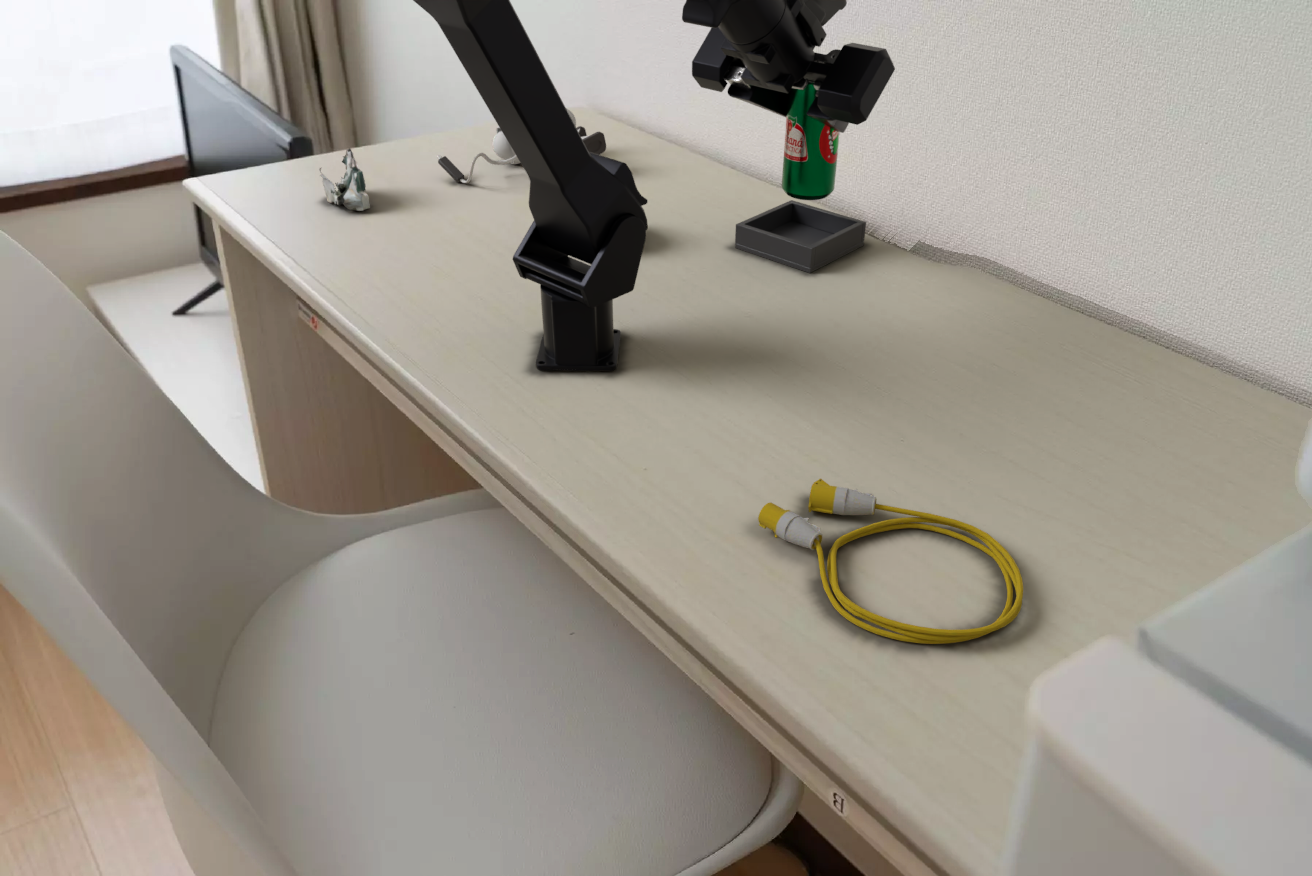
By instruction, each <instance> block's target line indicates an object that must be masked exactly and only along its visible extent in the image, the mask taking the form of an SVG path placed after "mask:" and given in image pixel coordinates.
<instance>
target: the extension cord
mask: <svg viewBox="0 0 1312 876" xmlns="http://www.w3.org/2000/svg"><path fill="white" fill-rule="evenodd" d="M807 509H808V513H811V512H812V511H813V512H819V513H824V514H830V515H833V514H834V515H841V516H866V515H867V516H868V515H871V516H874V515H875V513H876V510H878V511H879V510H880V511H884V512H890V513H894V514H895V513H896V514H901V515H906V516H908V517H898V518H890V519H885V520H882V521H876V522H874V523H871V524H868V525H865V526H862V527H859V528H857V529H854V530H852V531H849V532H847V533H845V534H843V535H841V536H839V537H838V538H837V539H836V540H835V541H834V542H833V544H832V546H831V547H830V549H829V551H828V555H827V562H826V563H827V565H826V564H825V558H824V550H823V548H822V545H821V544H822V542H823V539H824V538H823V534H822V532H821V527H820V526H818V525H816V524H813V523H810V522H809V519H810V518H809V517H802V516H801V515H799V514H798V513H795V512H794V511H791V510H790V509H784V508H783V507H781V506H778V505H777V504H775V503H774V502H767V503H766V504H765V505H763V507H762V508H761V509H760V511H759V513H758V517H757V519H758V520H757V521H758V523H759V524H758V526H759V527H761V528H763V529H764V530H766V529H769V530H771V531H772V532H773V534H774V535H773V537H775V538H776V539H778V537H779V538H780V539H782V540H784V541H786V542H787V543H788V542H789V543H791V544H793V545H796V546H799V547H803V548H807V549H810V550H811V551H815V550H816V554H817V560H818V568H819V576H820V579H821V583H822V587H823V589H824V592H825V594H826V596H827V597H828V600H829V602H830V604H831V605H832V606H833V608H834V609H835V610H836V611H837V612H838V613H839V615H841V616H842V617H843V618H845V619H846V620H847V621H849V622H850V623H852V624H854V625H856V626H857V627H859V628H861V629H863V630H866V631H868V632H870V633H873V634H876V635H877V636H881V637H886V638H888V639H892V640H896V641H901V642H907V643H915V644H916V643H917V644H924V645H925V644H927V645H940V644H954V643H961V642H967V641H970V640H975V639H978V638H981V637H983V636H985V635H988V634H990V633H993V632H995V631H998V630H1000V629H1002V628H1005V627H1006V626H1008V625H1009V624H1011V623H1012V622H1014V620H1015V619H1016V618H1017V617H1018V616H1019V613H1020V611H1021V610H1022V606H1023V599H1024V583H1023V577H1022V575H1021V571H1020V569H1019V566H1018V565H1017V563H1016V561H1015V559H1014V558H1013V557H1012V555H1011V554H1010V553H1009V551H1008V550H1007V549H1006V548H1005V547H1004V546H1003V545H1002V544H1001V543H1000V542H998V540H996V539H995V538H994V537H993V536H992V535H990V534H989V533H987V532H985V531H984V530H982V529H980V528H978V527H977V526H974V525H972V524H969V523H966V522H964V521H960V520H957V519H955V518H950V517H947V516H942V515H937V514H934V513H931V512H930V513H929V512H924V511H918V510H913V509H907V508H901V507H896V506H890V505H884V504H879V503H877V496H875V495H874V494H873V493H871V492H860V491H859V490H858V488H856V489H851V488H849V487H843V486H835V485H830V484H829V483H827V482H826V481H825V480H824V479H822V478H818V480H816V481H814V482H813V483H812V485H811V488H810V491H809V498H808V508H807ZM932 524H937V525H943V526H946V527H947V526H948V527H951V528H955V529H957V530H961V531H962V532H963V531H964V532H965V533H968V534H970V535H972V536H974V537H976V538H977V539H979V540H980V541H982V542H983V543H984V544H985V545H984V544H982V543H981V542H979V541H977V540H974V539H973V538H970V537H968V536H967V535H964V534H961V533H959V532H956V531H953V530H950V529H947V528H944V527H940V526H936V525H932ZM901 529H920V530H925V531H932V532H936V533H939V534H942V535H947V536H949V537H952V538H955V539H957V540H960V541H963V542H965V543H967V544H968V545H970V546H972V547H975V548H976V549H978V550H980V551H982V552H984V553H985V554H987V555H988V556H989V557H991V558H992V559H993V560H994V561H995V563H996V564H997V566H998V567H999V569H1000V570H1001V572H1002V575H1003V579H1004V581H1005V584H1006V585H1005V586H1006V595H1007V596H1006V602H1005V605H1004V608H1003V610H1002V612H1001V614H1000V615H999V617H998V618H997V619H996V620H995V621H994V622H993V623H991V624H989V625H985V626H981V627H973V628H966V629H944V628H933V627H927V626H920V625H914V624H909V623H905V622H901V621H897V620H894V619H890V618H887V617H885V616H883V615H879V614H877V613H874V612H872V611H869V610H868V609H865V608H863V607H862V606H860V605H858V604H857V603H855V602H853V601H852V600H851V599H849V597H847V596H846V595H845V594H844V593H843V592H842V590H841V589H840V588H841V587H840V586H839V579H838V578H839V577H838V568H837V553H838V550H839V548H841V547H843V546H844V545H846V544H848V543H849V542H852V541H854V540H857V539H859V538H862V537H863V538H864V537H867V536H870V535H873V534H878V533H882V532H888V531H894V530H901ZM826 569H827V572H826ZM1013 586H1014V589H1015V595H1016V597H1015V600H1014V603H1013V599H1014V589H1013ZM851 614H852V615H851ZM856 617H857V618H856ZM858 618H860V619H862V620H865V621H866V622H868V623H871V624H874V625H876V626H878V627H881V628H883V629H881V628H878V627H875V626H873V625H871V624H868V623H866V622H864V621H862V620H860V619H858ZM885 629H886V630H885Z"/></svg>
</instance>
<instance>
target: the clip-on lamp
mask: <svg viewBox="0 0 1312 876" xmlns="http://www.w3.org/2000/svg"><path fill="white" fill-rule="evenodd" d="M566 109H567V111H568V113H569V115H570V117H571V119H572V121H573V123H574V125H575V127H576V129H577V130H578V132H579V134H580V136H581V138H582V140H583V142H584V144H585V146H586V148H587V150H588V151H589V152H592V153H595V154H598V155H601V154H603V153H605V151H606V150H607V143H606V137H605V133H604V132H601V131H596V132H593V133H592V134H590V135H589V134H588V135H587V131H586V130H587V129H586V128H585V127H584V126H582V125H579V126H577V119H576V116H575V115H574V113H573V112H572V111H571V110H570V109H569V108H566ZM495 131H496V132H495V133H496V134H495V135H494V137H493V139H492V148H493V152H494V154H495V155H496V156H497V157H498V158H500V159H503V160H494V159H491V158H490V157H489V156H488V155H487V154H486V153H484V152H479V153H476V155H474V157H473V159H472V161H471V164H470V169H469V174H468V177H467V179H466V180H465V178H466V175H464V173H463V172H462V171H461V170H460V169H458V167H457V166H456V165H455V164H454V163H453V162H452V161H451V159H449V158H448V157H447V156H446V155H444V156H442V155H441V154H437V155H436V158H437V159H438V160H437V163H438V164H439V166H440V167H441V168H442V169H443V170H444V171H445V172H446V173H447V174H448V175H449V176H450V177H451V178H452V179H453V180H454V181H455V182H456V183H457V184H459V183H462V184H469V183H470V182H471V181H472V178H473V174H474V168H475V165H476V162H477V160H478V159H479V158H480V157H482V158H484V160H485V161H486V162H487V163H489V164H490V165H495V166H496V165H497V166H499V165H500V166H503V165H507V164H508V165H509V164H511V165H518V164H521V162H520V161H519V159H518V157H517V156H516V154H515V152H514V151H513V149H512V147H511V146H510V144H509V142H508V141H507V139H506V137H505V136H504V134H503V132H502V130H501V129H500V127H499V125H497V127H496V129H495Z"/></svg>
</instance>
